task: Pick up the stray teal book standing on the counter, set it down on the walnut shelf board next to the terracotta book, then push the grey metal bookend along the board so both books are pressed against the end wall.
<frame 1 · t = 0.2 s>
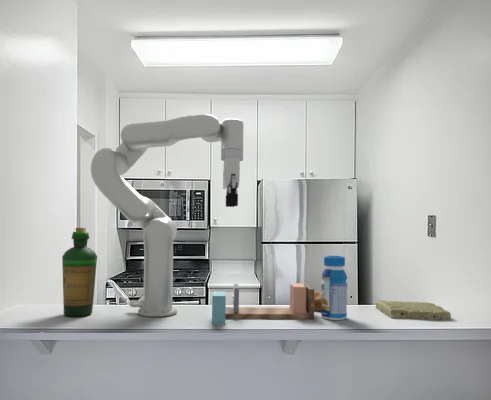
hand: (231, 206, 146), 36 cm above the counter, tool pointing down, fingers open, 9 cm apart
beverage bottle: (333, 318, 142), on the counter
terracotta book: (297, 310, 144), point 1 cm above the counter, touching shelf board
bottle: (78, 315, 140), on the counter
shelf board: (268, 315, 144), on the counter
bread roll: (318, 309, 156), on the counter
bookend: (236, 297, 144), point 6 cm above the counter, slide at 0.0 cm
decorative tile: (411, 315, 150), on the counter
teal book: (218, 321, 135), on the counter
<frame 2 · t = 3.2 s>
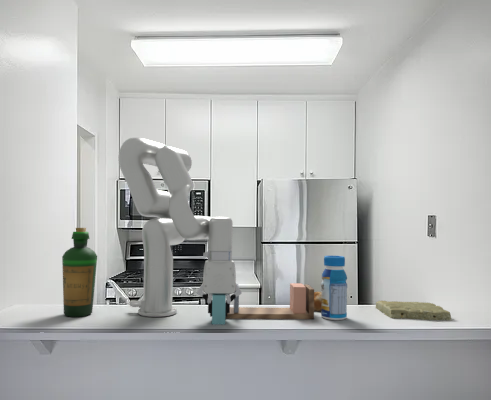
hand: (218, 315, 135), 2 cm above the counter, tool pointing down, fingers closed on teal book, 4 cm apart
teal book: (218, 321, 135), on the counter, touching gripper
everything else where it was.
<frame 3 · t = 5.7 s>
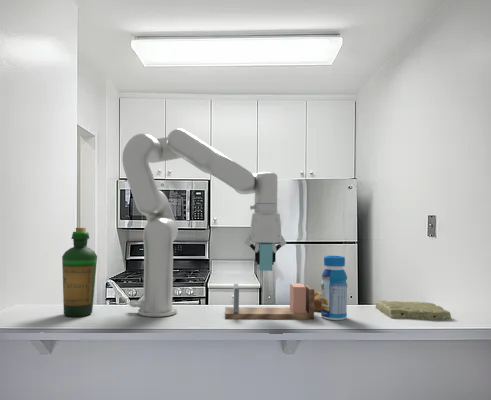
hand: (265, 263, 145), 17 cm above the counter, tool pointing down, fingers closed on teal book, 4 cm apart
teal book: (265, 269, 144), point 15 cm above the counter, touching gripper
everything else where it was.
when the fingers open (5 cm above the counter, at t = 8.1 s): teal book drops 2 cm, resting on shelf board.
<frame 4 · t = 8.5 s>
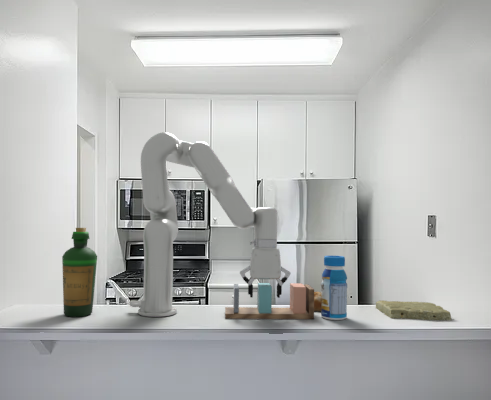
hand: (264, 296, 144), 6 cm above the counter, tool pointing down, fingers open, 8 cm apart
teal book: (264, 310, 144), point 1 cm above the counter, touching shelf board
everything else where it was.
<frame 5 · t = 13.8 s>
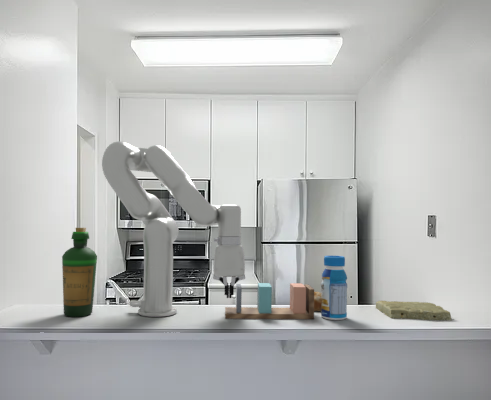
hand: (229, 297, 144), 6 cm above the counter, tool pointing down, fingers closed
bookend: (238, 297, 144), point 6 cm above the counter, slide at 0.8 cm, touching gripper
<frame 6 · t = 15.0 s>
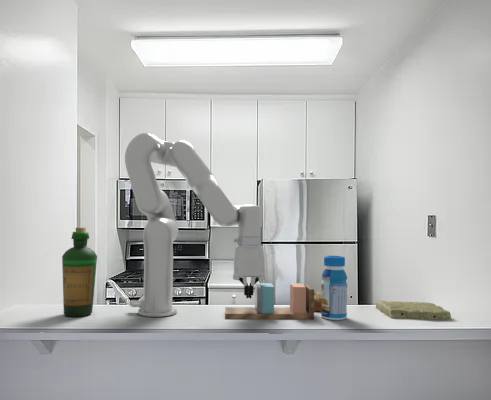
hand: (248, 297, 144), 6 cm above the counter, tool pointing down, fingers closed
bookend: (258, 297, 144), point 6 cm above the counter, slide at 7.4 cm, touching gripper
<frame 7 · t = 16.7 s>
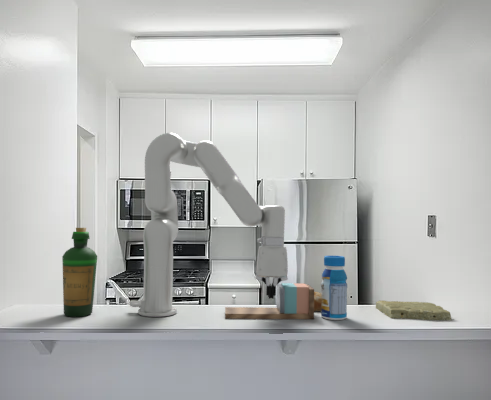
hand: (270, 297, 144), 6 cm above the counter, tool pointing down, fingers closed
terracotta book: (300, 310, 144), point 1 cm above the counter, touching shelf board, teal book
bookend: (280, 298, 144), point 6 cm above the counter, slide at 14.8 cm, touching gripper, teal book
teal book: (288, 310, 144), point 1 cm above the counter, touching bookend, shelf board, terracotta book
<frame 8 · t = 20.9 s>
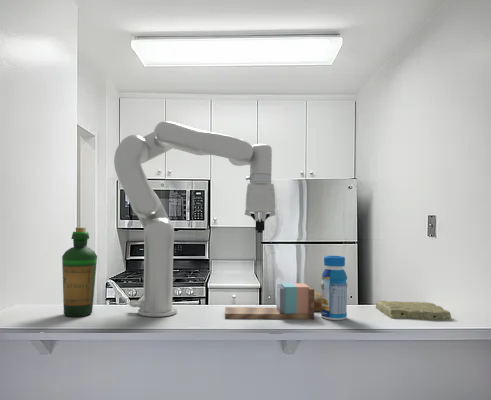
hand: (259, 232, 151), 27 cm above the counter, tool pointing down, fingers closed
bookend: (280, 298, 144), point 6 cm above the counter, slide at 14.7 cm
teal book: (288, 310, 144), point 1 cm above the counter, touching shelf board, terracotta book
at the end: teal book inside the target area (0.3 cm from its centre), point 1.5 cm above the counter; teal book tilted 0°; bookend slide at 14.7 cm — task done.
